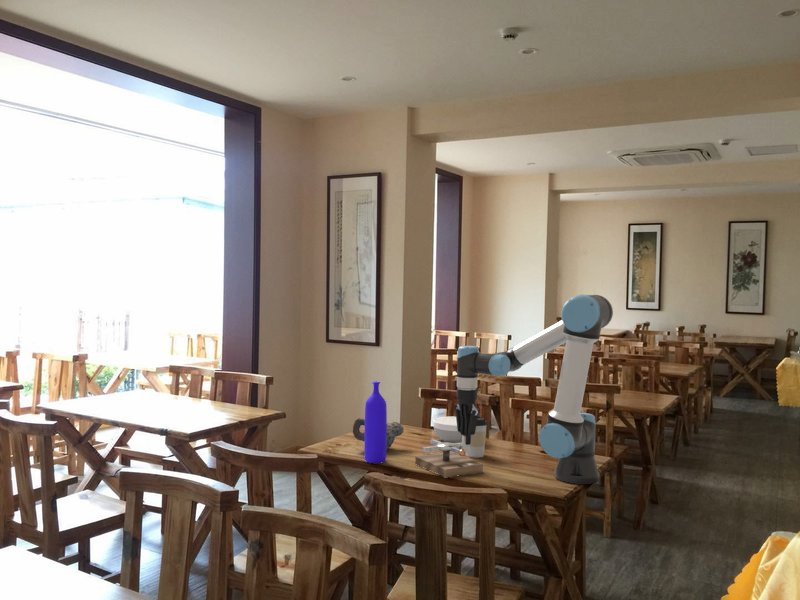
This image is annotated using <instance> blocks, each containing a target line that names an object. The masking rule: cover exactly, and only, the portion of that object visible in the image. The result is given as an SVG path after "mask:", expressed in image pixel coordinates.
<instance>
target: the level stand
mask: <svg viewBox="0 0 800 600" xmlns="http://www.w3.org/2000/svg"><path fill="white" fill-rule="evenodd" d="M414 459H415V462H414V463H415V464H417V465H419V466H418V467H420V466H421V467H420V468H422V467H424V468H426V469H428V470H431V471H433V472H436V473H438V474H440V475H442V476H443V477H442V476H441V477H442V478H444V479H449V478H448V477H450V478H452V477H451V476H457V475H463V476H467V475H466V474H469V475H474V474H480V473H483V472H484V471H483V469H484V464H483V463H481V462H478V461H475V460H474V459H471V458H470V457H467V456H465V455H464V456H460V455H459V454H456V453H454V452H451V451H442V452H439V453H432V454H423V455H417V456H415V458H414ZM417 465H416V466H417ZM424 468H423V469H424ZM426 469H425V470H426ZM428 470H427V471H428ZM431 471H430V472H431ZM433 472H432V473H433ZM457 477H458V476H457Z"/></svg>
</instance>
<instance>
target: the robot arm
mask: <svg viewBox="0 0 800 600" xmlns="http://www.w3.org/2000/svg"><path fill="white" fill-rule="evenodd" d="M560 314H561V315H560V316H561V317H560V318H561V320H559V321H558V322H556V323H554V324H552V325H550V326H548V327H547V328H545V329H542V330H541V331H540V332H538V333H536V334H534V335H532V336H529V338H527V339H525V340H523V341H522V342H520V343H518V344H516V345H514V346H513V347H510V348H508V349H507V350H505V351H499V352H494V353H493V352H492V353H486V352H480V351H479V348H478V346H476V345H461V346H459V347H458V349H457V356H456V360H457V362H456V363H457V365H456V367H457V372H456V373H457V375H456V387H457V389H456V399H457V400H458V403H457V404H455V405H454V406H453V408H454V412H455V416H456V420H457V429H458V432H460V433H461V442H462V447H461V449H463V450H465V452H466V453H470V444H471V435H474V434H475V430H476V425H477V419H478V416H479V415H480V413H481V412H480V409H477V408H476V400H478V389H477V388H478V377H479V376H478V375H480V374H482V375H490V376H494V377H505V376H506V375H507V374H509V372H515V371H518V370H519V369H521V368H522V367H523V366H524V365H526V364H528V363H530V362H531V361H533V360H535V359H537V358H539V357H541V356H543V355H545V354H547V353H549V352H551V351H553V350H554V349H556V348H558V347H560V346H561V345H563V344H565V347H564V350H563V351H564V353H563V358H562V363H561V369H560V374H559V378H558V384H557V389H556V395H555V402H554V406H553V408H552V409H551V410H549V411H548V413H547V418H546V424H545V425H543V426H542V428H541V429H540V431H539V434H538V440H539V444H540V447H541V448H542V449H543V451H544V452H545V453H546V454H547V455H548V456H549V457H552V458H554V459H558V461H557V464H556V467H555V468H554V477H555V479H557V480H558V479H559V481H561V482H564V481H565V482H564V483H568V482H569V484H576V485H578V484H579V485H588V484H595V483H598V482H599V481H600V472H599V470H598V465H597V461H596V457H595V456H596V455H595V452H596V449H595V448H596V446H595V445H596V426H597V424H596V417H595V415H594V414H592V413H587V412H581V411H582V406H583V405H582V404H583V400H584V395H585V391H586V385H587V379H588V374H589V370H590V369H589V368H590V363H591V359H592V352H593V348H594V344H595V343H596V342H598V341H599V340H600V337H601V331H602V329H603V328H605V327H606V326H608V325H609V324H610V323H611V321H612V319H613V317H614V311H613V305H612V304H611V302H610V300H608V299H607V298H606V297H604V296H603V295H599V294H579V295H576V296H571V297H570V298H569V299H567V300H566V301H565V303H564V304H563V306H562V309H561V313H560ZM466 453H465V455H466Z"/></svg>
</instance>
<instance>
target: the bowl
mask: <svg viewBox="0 0 800 600" xmlns="http://www.w3.org/2000/svg"><path fill="white" fill-rule="evenodd" d="M432 426H433V430H434V432H435V434H436V435H437V437H438V438H439V439H441V442H442V443H461V433H460V432H458V429H457V420H456V415H455V416H448V415H447V416H440V417H435V418H433V420H432Z"/></svg>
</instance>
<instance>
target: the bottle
mask: <svg viewBox="0 0 800 600" xmlns="http://www.w3.org/2000/svg"><path fill="white" fill-rule="evenodd" d="M372 384H373V391H372V394H370V396H368V398H367V399H366V401H365V404H364V405H365V407H364V419H365V426H364V432H365V439H364V441H363V443H364V461H365V460H366V461H367V462H369V463H368V464H371V463H379V464H382V463H381V462H384V463H385V462H386V459H387V449H386V438H387V423H388V417H387V415H388V414H387V412H388V409H387V401H386V400H385V398H384V397H383V396H382V395H381V393H380V384H381V381H378V380H377V381H372ZM366 461H365V462H366ZM367 462H366V463H367Z"/></svg>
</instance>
